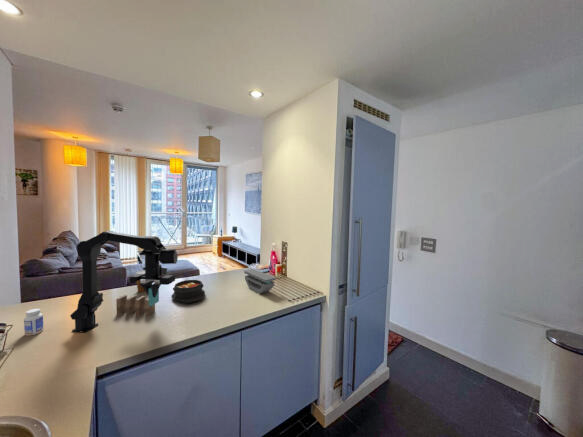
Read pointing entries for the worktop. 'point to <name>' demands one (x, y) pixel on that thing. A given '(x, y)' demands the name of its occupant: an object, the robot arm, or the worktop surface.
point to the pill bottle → (33, 322)
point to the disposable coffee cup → (140, 288)
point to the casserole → (188, 291)
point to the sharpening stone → (259, 281)
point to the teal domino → (151, 298)
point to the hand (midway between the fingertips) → (152, 297)
